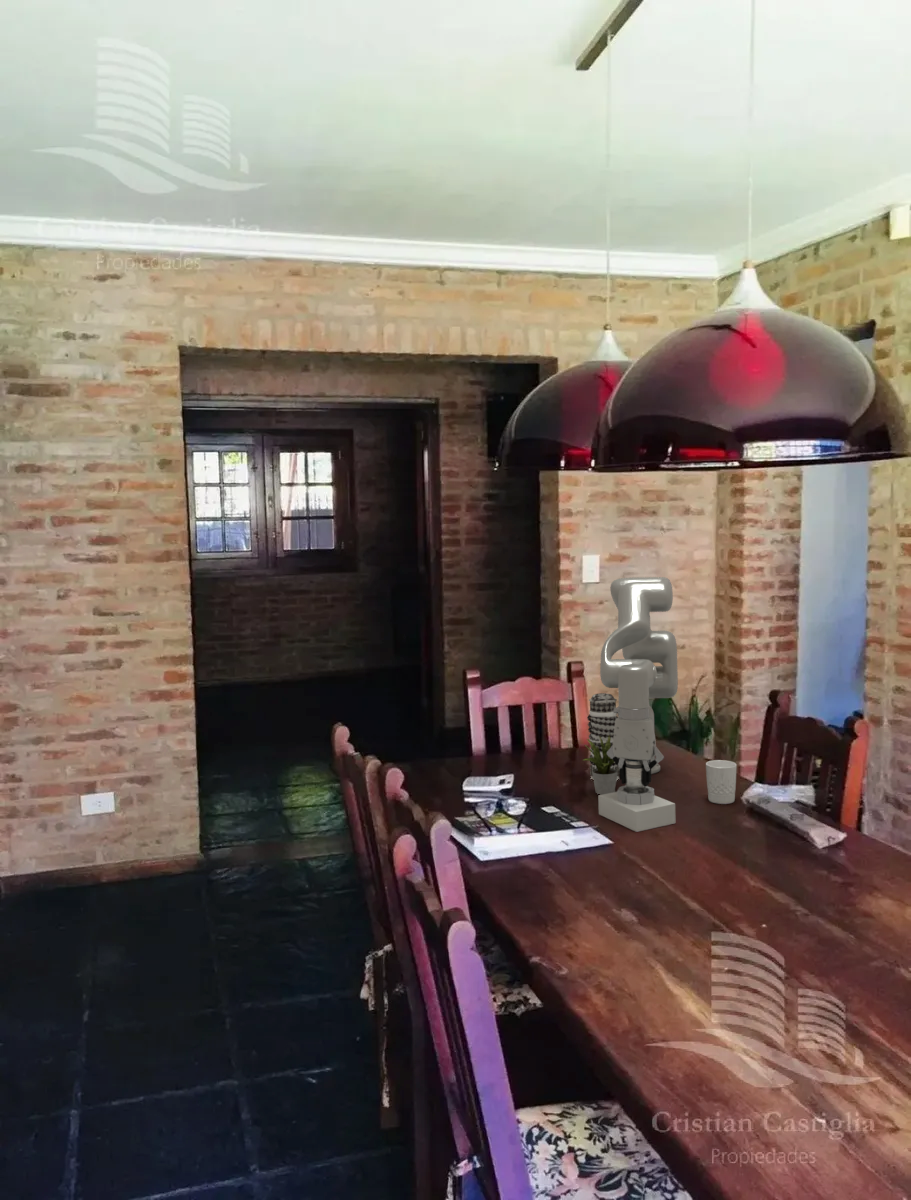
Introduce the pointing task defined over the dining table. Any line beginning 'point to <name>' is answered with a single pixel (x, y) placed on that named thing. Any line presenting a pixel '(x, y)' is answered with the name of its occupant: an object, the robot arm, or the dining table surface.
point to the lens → (634, 776)
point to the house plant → (603, 769)
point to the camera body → (637, 809)
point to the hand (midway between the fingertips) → (635, 783)
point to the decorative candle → (602, 724)
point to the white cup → (721, 781)
